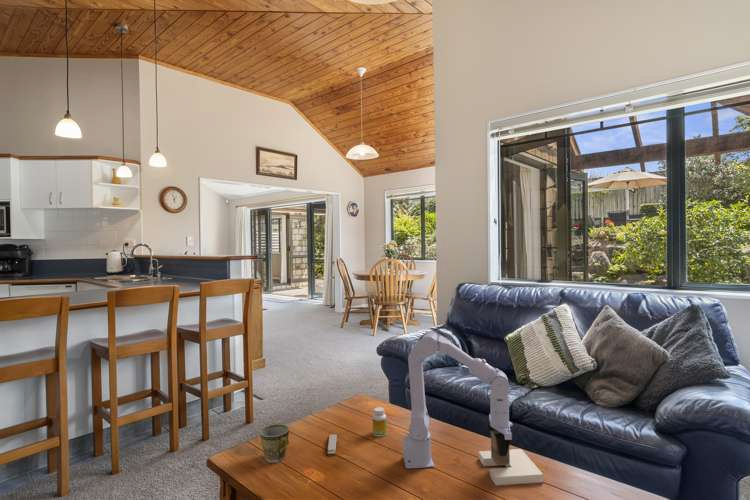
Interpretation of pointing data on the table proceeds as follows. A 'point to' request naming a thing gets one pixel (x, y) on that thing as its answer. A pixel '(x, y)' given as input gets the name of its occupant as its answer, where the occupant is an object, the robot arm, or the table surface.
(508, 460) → the peg
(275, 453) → the ceramic cup
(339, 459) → the table surface
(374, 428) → the supplement bottle
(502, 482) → the socket block
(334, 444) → the harmonica
